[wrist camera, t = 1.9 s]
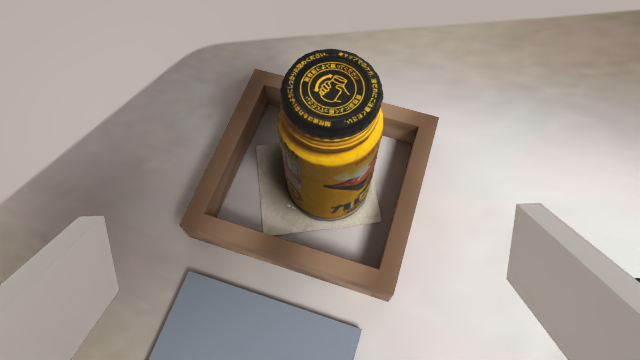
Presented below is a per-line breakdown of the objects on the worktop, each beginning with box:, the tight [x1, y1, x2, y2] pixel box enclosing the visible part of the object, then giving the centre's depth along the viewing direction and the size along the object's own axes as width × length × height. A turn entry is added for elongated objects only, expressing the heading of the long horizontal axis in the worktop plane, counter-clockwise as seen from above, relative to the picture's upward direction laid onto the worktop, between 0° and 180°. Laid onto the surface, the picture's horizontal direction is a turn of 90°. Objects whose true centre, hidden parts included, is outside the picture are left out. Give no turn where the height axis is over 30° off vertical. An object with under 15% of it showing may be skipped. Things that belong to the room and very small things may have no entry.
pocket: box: [180, 69, 439, 301], centre depth 32 cm, size 14×13×2 cm
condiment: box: [256, 49, 383, 236], centre depth 28 cm, size 7×8×12 cm
